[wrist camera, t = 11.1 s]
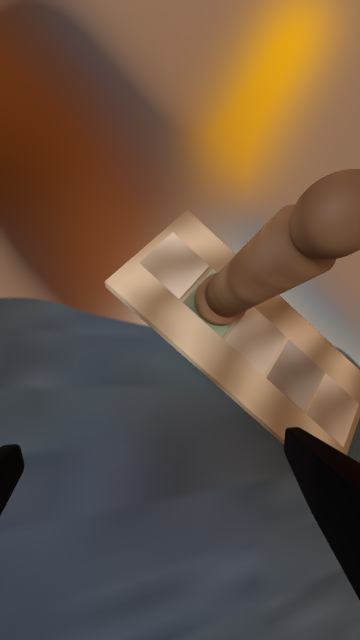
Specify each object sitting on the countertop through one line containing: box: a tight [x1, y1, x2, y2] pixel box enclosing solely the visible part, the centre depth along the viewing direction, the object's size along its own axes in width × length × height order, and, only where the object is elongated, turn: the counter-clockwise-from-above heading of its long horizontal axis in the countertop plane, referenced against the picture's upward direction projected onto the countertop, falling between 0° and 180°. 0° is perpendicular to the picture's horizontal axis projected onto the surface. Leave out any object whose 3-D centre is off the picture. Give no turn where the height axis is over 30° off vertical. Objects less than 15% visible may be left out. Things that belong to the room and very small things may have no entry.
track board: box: [105, 210, 360, 455], centre depth 19 cm, size 26×11×1 cm, turn 51°
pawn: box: [194, 169, 360, 326], centre depth 12 cm, size 4×4×12 cm
